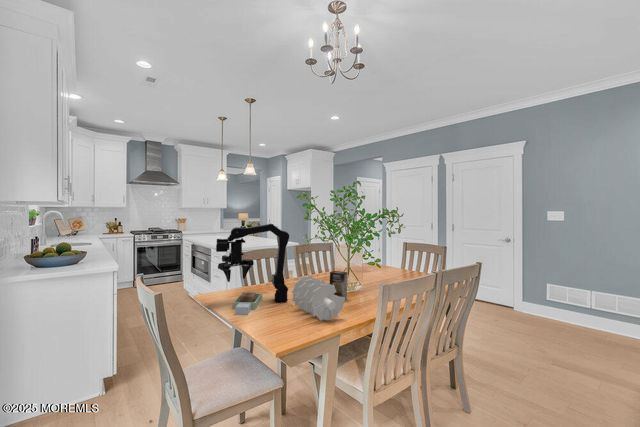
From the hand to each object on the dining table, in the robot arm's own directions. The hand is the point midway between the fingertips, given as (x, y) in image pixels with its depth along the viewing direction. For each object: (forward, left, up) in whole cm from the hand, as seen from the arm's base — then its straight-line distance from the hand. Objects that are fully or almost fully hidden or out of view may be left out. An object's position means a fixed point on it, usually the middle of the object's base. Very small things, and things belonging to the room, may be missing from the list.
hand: (236, 280), depth 161 cm
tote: (-6, -1, -14) cm, 15 cm away
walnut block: (-7, +2, -13) cm, 15 cm away
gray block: (-7, +12, -14) cm, 20 cm away
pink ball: (-7, -5, -13) cm, 16 cm away
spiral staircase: (-43, +11, -14) cm, 47 cm away
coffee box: (-55, -14, -14) cm, 59 cm away
